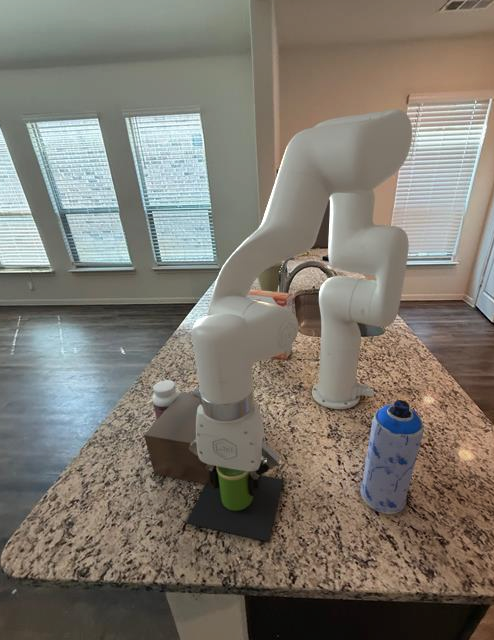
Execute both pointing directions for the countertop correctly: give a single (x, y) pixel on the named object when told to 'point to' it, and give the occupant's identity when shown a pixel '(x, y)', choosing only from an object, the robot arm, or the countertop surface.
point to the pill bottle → (163, 396)
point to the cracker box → (277, 299)
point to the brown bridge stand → (177, 442)
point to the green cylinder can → (234, 488)
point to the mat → (239, 511)
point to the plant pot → (270, 278)
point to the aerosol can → (391, 457)
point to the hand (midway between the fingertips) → (236, 484)
